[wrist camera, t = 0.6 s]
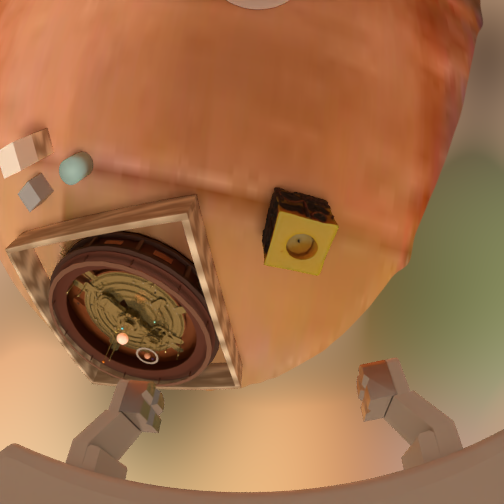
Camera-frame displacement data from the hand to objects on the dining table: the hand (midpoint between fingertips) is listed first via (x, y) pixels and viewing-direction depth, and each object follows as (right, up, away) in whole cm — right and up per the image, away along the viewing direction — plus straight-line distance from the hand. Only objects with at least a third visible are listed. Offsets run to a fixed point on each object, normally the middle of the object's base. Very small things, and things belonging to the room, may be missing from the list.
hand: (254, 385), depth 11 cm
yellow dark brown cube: (+8, +12, +45) cm, 47 cm away
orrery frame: (-29, -8, +57) cm, 65 cm away
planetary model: (-29, -7, +58) cm, 65 cm away
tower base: (-43, +27, +36) cm, 62 cm away
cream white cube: (-43, +24, +32) cm, 58 cm away
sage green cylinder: (-33, +22, +39) cm, 55 cm away
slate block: (-45, +19, +41) cm, 64 cm away
